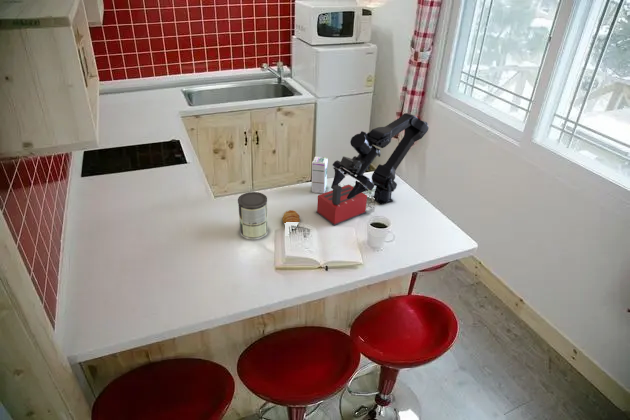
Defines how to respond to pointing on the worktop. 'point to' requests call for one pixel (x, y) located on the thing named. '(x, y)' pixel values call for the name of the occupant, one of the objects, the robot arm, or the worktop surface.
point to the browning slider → (336, 194)
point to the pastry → (291, 216)
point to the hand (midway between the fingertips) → (339, 193)
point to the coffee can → (253, 215)
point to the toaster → (341, 206)
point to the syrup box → (319, 174)
